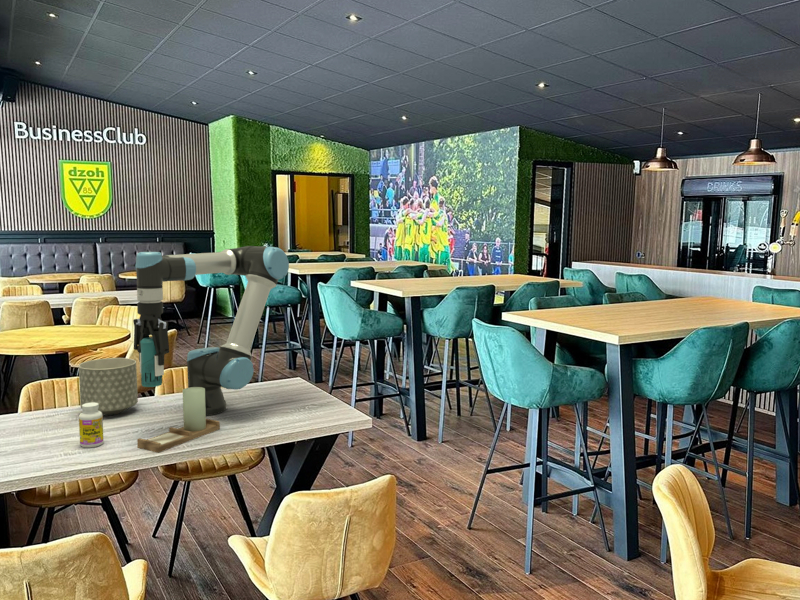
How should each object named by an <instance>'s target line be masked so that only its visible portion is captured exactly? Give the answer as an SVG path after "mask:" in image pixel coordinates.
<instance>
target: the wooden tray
mask: <svg viewBox="0 0 800 600" xmlns="http://www.w3.org/2000/svg"><path fill="white" fill-rule="evenodd" d="M220 424H221V423H220V420H215V419H211V418H206V428H205V429H204V430H201V431H194V432H191V431H187V430H184V426H180V427H178V428H177V427H173V426H170V427H168V432H164V433H162V434H159V435H156V436H153V437H151V438H147V439H145V438H141V437H140V438H137V441H136V442H137V448H138V449H141V450H146V451H150V452H154V453H161V452H164V451H166V450H169V449H171V448H174V447H177V446H180V445H182V444H184V443H187V442H191V441H193V440H195V439H197V438H200V437H203V436H206V435H209V434H210V433H213V432H216V431H218V430H220V429H221V427H220V426H221V425H220Z"/></svg>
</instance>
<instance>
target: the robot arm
mask: <svg viewBox="0 0 800 600" xmlns="http://www.w3.org/2000/svg"><path fill="white" fill-rule="evenodd" d="M289 268H290V262H289V259H288V255H287V254H286V252H285V251H284V250H283V249H281V248H279V247H275V246H259V245H258V246H254V245H247V246H241V247H236V248H225V249H223V250H222V251H220V252H219V251H218V252H217V251H216V252H201V253H186V254H183V253H182V254H169V255H168V254H166V255H163V254H162V252H160V251H140V252H138V253H137V254H136V260H135V271H136V273H135V274H136V292H137V293H136V296H137V298H136V300H137V301H138V302H137V304H136V309H137V314H138V315H139V318H134V319H133V327H134V328H133V329H134V330H133V350H135V351H137V353H138V361H139V373H140V374H141V343H140V341H141V340H142V339H143V338H145V337H150V336H151V337H152V338H153V342H154V346H155V350H156V354H155V376H161V375H163V376H164V374H165V370H164V369H165V368H164V366H165V355H166V354H167V355H168V354H170V342H169V332H168V328H169V322H168V321H163V320H162V317H161V315H162V314H163V313H164V303H163V300H164V290H163V289H164V288H163V283H165V282H177V281H183V282H185V281H191V280H193V279H194V278H195V276H201V275H207V274H208V275H209V274H210V275H211V274H219V273H223V274H225V275H227V276H230V275H235V276H236V275H237V276H238V275H239V276H245V278H246V281H247V284H246V286H245V288H244V293H243V295H242V297H241V300H240V303H239V306H238V308H237V312H236V315H235V318H234V320H233V323H232V326H231V329H230V332H229V334H228V337H227V339H226V342H225V343H224V344H222V345H220V346H219V347H218V346H214V347H202V348H197V349H192V350H190V351H188V353H187V354H186V355H187V358H186V364H187V366H186V367H187V368H186V371H187V388H190V387H202V388H205V409H206V416H211V415H212V416H213V415H217V414H220V413H222V412H223V413H224V412H225V411H226V410H227V401H226V400H225V397H224V394H223V390H222V389H223V388H224V389H226V390H236V391H237V390H240V389H242V388H244V387H246V386H247V385H249V384H250V381H251V380H252V379H253V377H254V376H253V375H254V371H255V369H254V368H255V367H254V364H253V362H252V357H253V355H252V353H251V351H250V350H251V347H252V345H253V342H254V339H255V335H256V334H257V333H256V332H257V331H258V330H257V329H258V327H259V325H260V322H261V318H262V315H263V313H264V309H265V305H266V303H267V301H268V298H269V296H270V291H271V290H272V289H274V288H276V287H277V285H278V281H279V280H281V279H283V278H285V277H286V276H287V274H288V273H289ZM144 328H149V331H150V334H144Z"/></svg>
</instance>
